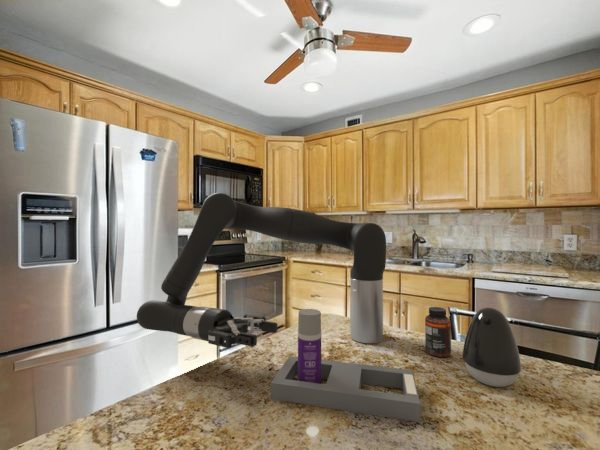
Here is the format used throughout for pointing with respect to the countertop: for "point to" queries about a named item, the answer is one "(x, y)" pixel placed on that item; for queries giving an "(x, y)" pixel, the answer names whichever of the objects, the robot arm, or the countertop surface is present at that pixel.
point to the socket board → (351, 389)
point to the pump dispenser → (491, 349)
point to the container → (309, 346)
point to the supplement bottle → (438, 332)
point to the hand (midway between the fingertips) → (266, 334)
